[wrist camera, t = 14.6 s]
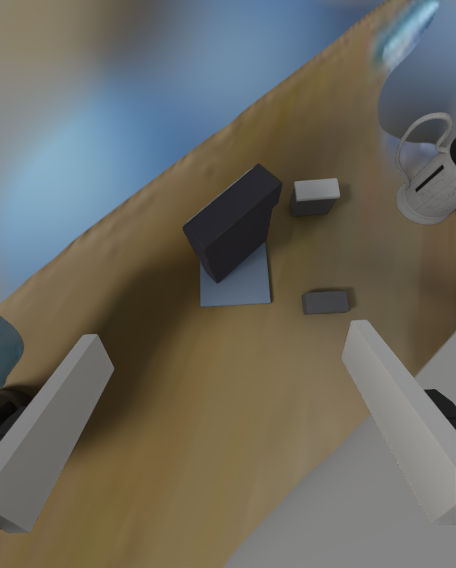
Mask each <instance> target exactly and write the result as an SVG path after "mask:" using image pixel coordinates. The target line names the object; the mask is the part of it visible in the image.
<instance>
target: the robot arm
mask: <svg viewBox="0 0 456 568" xmlns="http://www.w3.org/2000/svg"><path fill="white" fill-rule="evenodd" d="M23 351H24V343H23V340H22V337H21V336H20V334H19V333H18V331H17V330H16V329H15V328H14V327H13V326H12V325H11V324H10V323H9V322H8V321H6V320H5V319H4V318H2V317H1V316H0V388H2V387H3V386H4V384H5V383H6V379H7V376H8V375H9V374H10V372H11V371H12V369H13V368H14V367H15V365H16V364H17V362H18V361H19V360H20V358H21V356H22V354H23ZM342 360H343V362H344V364H345V366H346V368H347V370H348V372H349V373H350V375H351V377H352V379H353V381H354V383H355V385H356V386H357V388H358V390H359V392H360V394H361V396H362V398H363V400H364V401H365V403H366V405H367V407H368V409H369V411H370V413H371V415H372V416H373V418H374V420H375V422H376V424H377V426H378V427H379V429H380V431H381V433H382V435H383V437H384V439H385V441H386V443H387V444H388V446H389V448H390V450H391V452H392V454H393V456H394V457H395V459H396V461H397V463H398V465H399V467H400V468H401V471H402V472H403V474H404V476H405V478H406V480H407V482H408V483H409V485H410V487H411V489H412V491H413V493H414V495H415V497H416V499H417V500H418V502H419V504H420V506H421V508H422V510H423V511H424V513H425V515H426V517H427V519H428V521H429V523H430V524H431V525H450V524H456V406H455V405H454V403H453V402H452V401H450V400H449V399H447V398H446V397H445V396H444V395H442V394H441V393H440V392H438V391H437V390H435V389H432V390H431V389H430V390H423V389H422V388H421V386H420V385H419V384H418V383H417V382H416V380H415V379H414V378H413V376H412V375H411V374H410V373H409V371H408V370H407V369H406V368H405V366H404V365H403V364H402V363H401V361H400V360H399V359H398V358H397V356H396V355H395V354H394V353H393V352H392V350H391V349H390V348H389V347H388V345H387V344H386V343H385V342H384V340H383V339H382V338H381V337H380V335H379V334H378V333H377V332H376V330H375V329H374V328H373V327H372V325H371V324H370V323H369V322H368V320H353V321H351V324H350V328H349V332H348V335H347V339H346V343H345V346H344V350H343V354H342ZM113 371H114V367H113V365H112V363H111V361H110V359H109V357H108V355H107V352H106V350H105V348H104V346H103V344H102V342H101V340H100V338H99V336H98V334H87V335H83V336H82V337H81V338H80V339H79V341H78V342H77V343H76V345H75V346H74V347H73V348H72V350H71V351H70V352H69V354H68V355H67V356H66V358H65V359H64V360H63V361H62V363H61V364H60V365H59V367H58V368H57V369H56V370H55V372H54V373H53V374H52V376H51V377H50V378H49V379H48V381H47V382H46V383H45V385H44V386H43V387H42V388H41V390H40V391H39V392H38V394H37V395H36V396H35V397H34V399H33V400H32V399H31V398H29V397H28V396H27V395H25V394H23V393H21V392H18V391H14V390H1V391H0V529H2V530H4V531H6V532H8V533H30V532H31V530H32V528H33V526H34V524H35V522H36V520H37V518H38V516H39V514H40V513H41V511H42V509H43V507H44V505H45V503H46V501H47V499H48V497H49V495H50V493H51V491H52V489H53V487H54V485H55V483H56V481H57V479H58V478H59V476H60V474H61V472H62V470H63V468H64V466H65V464H66V462H67V460H68V458H69V456H70V454H71V452H72V450H73V448H74V446H75V445H76V443H77V441H78V439H79V437H80V435H81V433H82V431H83V429H84V427H85V425H86V423H87V421H88V419H89V417H90V415H91V413H92V412H93V410H94V408H95V406H96V404H97V402H98V400H99V398H100V396H101V394H102V392H103V390H104V388H105V386H106V384H107V382H108V380H109V378H110V377H111V375H112V373H113Z"/></svg>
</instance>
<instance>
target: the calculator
mask: <svg viewBox="0 0 456 568" xmlns="http://www.w3.org/2000/svg"><path fill="white" fill-rule="evenodd" d="M281 188H282V182H281V181H279V180H278V179H277V178H276V177H275V176H273V175H272V174H271V173H270V172H269V171H267V170H266V169H265V168H264V167H263V166H261V165H260V164H257V165H256V166H254V167H252V168H251V169H250V170H248V171H247V172H246V173H245V174H244V175H242V176H241V177H240V178H239V179H237V180H236V181H235V182H234V183H233V184H231V185H230V186H229V187H228V188H227V189H225V190H224V191H223V192H222V193H221V194H219V195H218V196H217V197H216V198H215V199H213V200H212V201H211V202H210V203H209V204H207V205H206V206H205V207H204V208H203V209H201V210H200V211H199V212H198V213H197V214H195V215H194V216H193V217H192V218H191V219H189V220H188V221H187V222H186V223H185V225H184V226H183V231H184V233H185V235H186V237H187V238H188V240H189V242H190V244H191V246H192V248H193V250H194V251H195V253H196V255H197V257H198V259H199V261H200V262H201V264H202V266H203V268H204V270H205V272H206V273H207V274H208V275H209V276H210V277H211V278H212V279H213V280H214V281H215V282H216V283H217V284H218V283H219V282H221V281H222V280H223V279H224V278H225V277H226V276H227V275H228V274H229V273H231V272H232V271H233V270H234V269H235V268H236V267H237V266H238V265H240V264H241V263H242V262H243V261H244V260H245V259H246V258H247V257H248V256H250V255H251V254H252V253H253V252H254V251H255V250H256V249H257V248H259V247H260V246H261V245H262V244H263V243H264V242H265V241H266V238H267V233H268V228H269V223H270V218H271V213H272V208H273V207H274V206H275V205H276V204H277V203H278V201H279V196H280V192H281Z"/></svg>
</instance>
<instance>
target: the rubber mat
mask: <svg viewBox="0 0 456 568" xmlns="http://www.w3.org/2000/svg"><path fill="white" fill-rule="evenodd" d="M269 303H271V301H270V290H269V279H268V267H267V256H266V244H265V242H264V243H263V244H262V245H261V246H260V247H259V248H257V249H256V250H255V251H254V252H253V253H252V254H251V255H250V256H248V257H247V258H246V259H245V260H244V261H243V262H242V263H241V264H240V265H238V266H237V267H236V268H235V269H234V270H233V271H232V272H231V273H229V274H228V275H227V276H226V277H225V278H224V279H223V280H222V281H221V282H219V283H218V284H217V283H216V282H215V281H214V280H213V279H212V278H211V277H210V276H209V275H208V274H207V273H206V272H205V270H204V268H203V266H202V264H201V262H200V306H201V307H209V306H229V305H249V304H269Z"/></svg>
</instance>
